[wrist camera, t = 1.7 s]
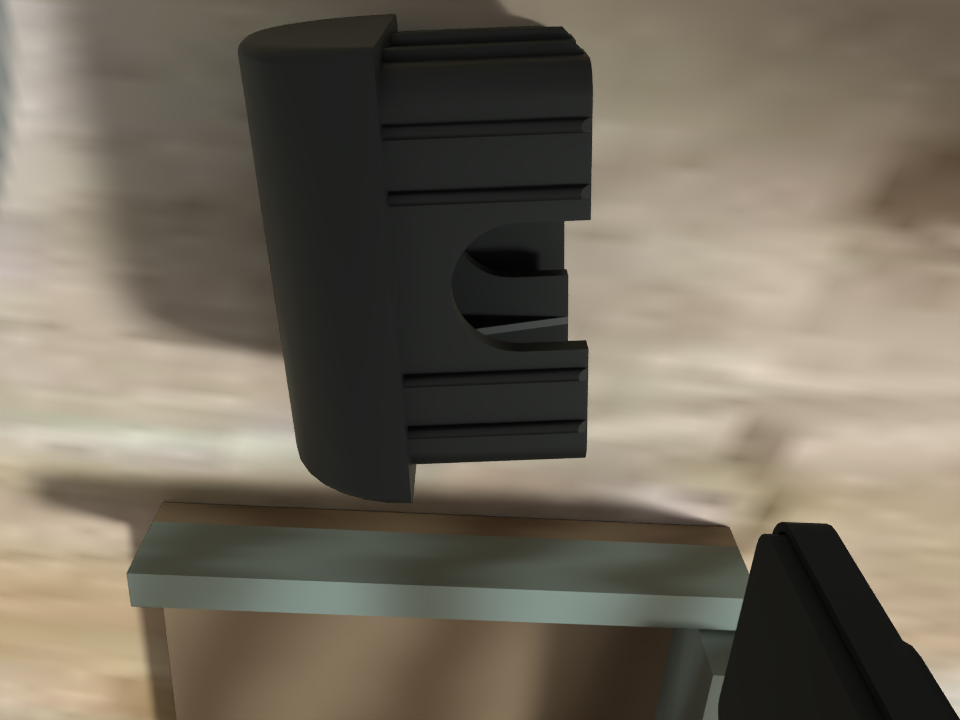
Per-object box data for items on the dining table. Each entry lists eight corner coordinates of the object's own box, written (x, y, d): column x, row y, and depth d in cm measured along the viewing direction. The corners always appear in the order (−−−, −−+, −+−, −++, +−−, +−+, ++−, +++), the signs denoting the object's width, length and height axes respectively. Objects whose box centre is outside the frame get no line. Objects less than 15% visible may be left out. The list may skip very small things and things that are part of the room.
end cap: (273, 15, 22) (201, 56, 16) (562, 3, 22) (598, 39, 16) (320, 376, 27) (277, 514, 21) (561, 367, 27) (589, 502, 21)
